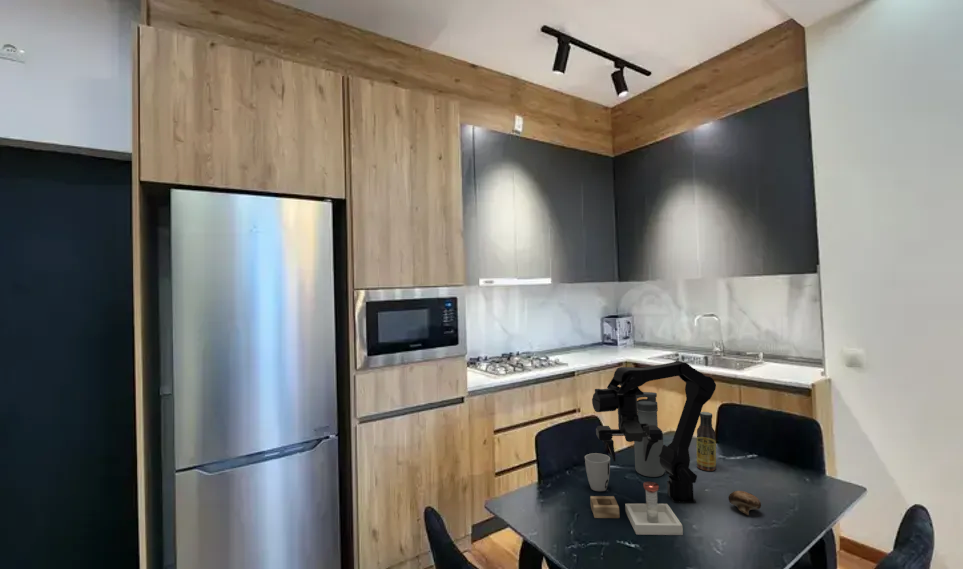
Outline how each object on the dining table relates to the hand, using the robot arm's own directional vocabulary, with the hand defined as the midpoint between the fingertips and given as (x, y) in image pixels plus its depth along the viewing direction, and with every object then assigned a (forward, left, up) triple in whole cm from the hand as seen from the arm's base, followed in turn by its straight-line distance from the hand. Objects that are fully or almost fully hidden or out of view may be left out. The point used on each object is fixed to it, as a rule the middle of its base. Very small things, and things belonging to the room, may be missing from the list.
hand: (629, 461), depth 134 cm
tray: (-3, +11, -13) cm, 17 cm away
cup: (+8, -11, -13) cm, 19 cm away
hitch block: (+9, +5, -13) cm, 17 cm away
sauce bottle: (-33, -27, -13) cm, 45 cm away
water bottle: (-12, -24, -13) cm, 30 cm away
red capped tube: (-3, +11, -12) cm, 17 cm away
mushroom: (-31, +4, -13) cm, 34 cm away
